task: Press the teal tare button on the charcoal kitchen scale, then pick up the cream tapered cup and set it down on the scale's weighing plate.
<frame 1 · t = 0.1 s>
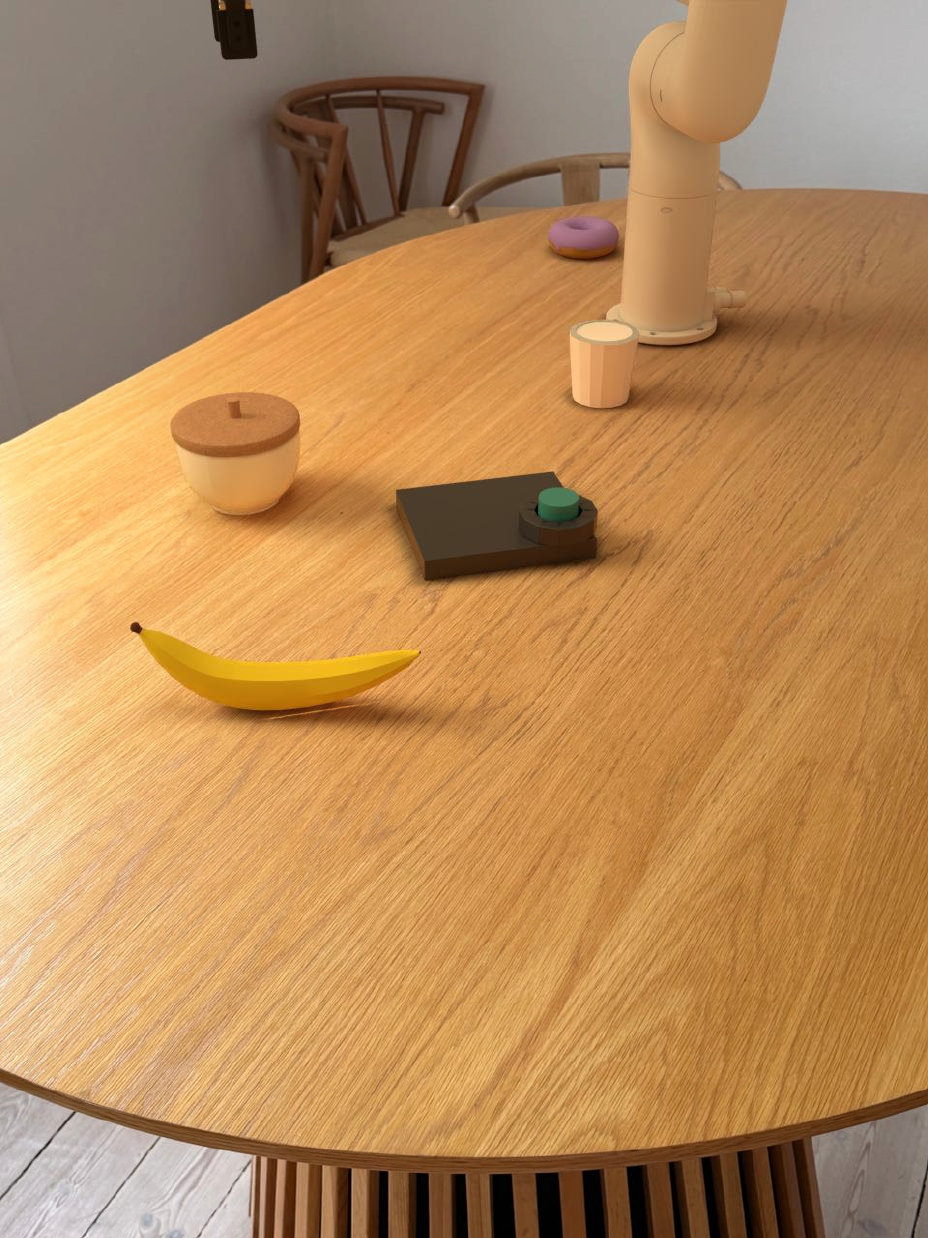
hand: (235, 49, 114), 31 cm above the table, tool pointing down, fingers open, 9 cm apart
donut: (582, 251, 163), on the table
tare button: (558, 505, 97), point 4 cm above the table, slide at 0.1 cm
cream tapered cup: (600, 398, 124), on the table
scale: (492, 533, 101), on the table
cream bowl with lid: (245, 500, 106), on the table
banana: (283, 708, 82), on the table
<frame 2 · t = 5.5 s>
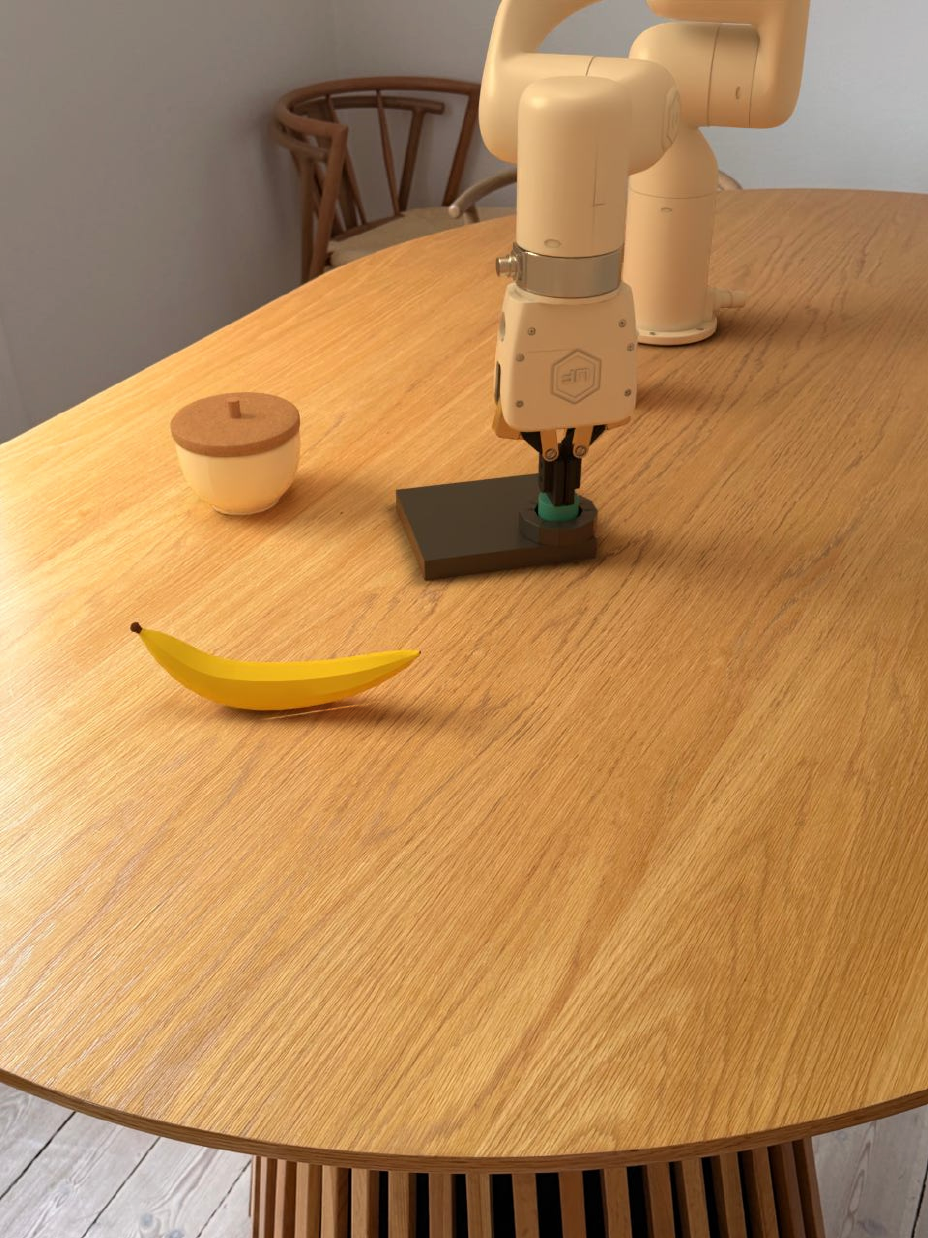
hand: (558, 497, 96), 5 cm above the table, tool pointing down, fingers closed
tare button: (558, 505, 97), point 4 cm above the table, slide at 0.1 cm, touching gripper
everything else where it was.
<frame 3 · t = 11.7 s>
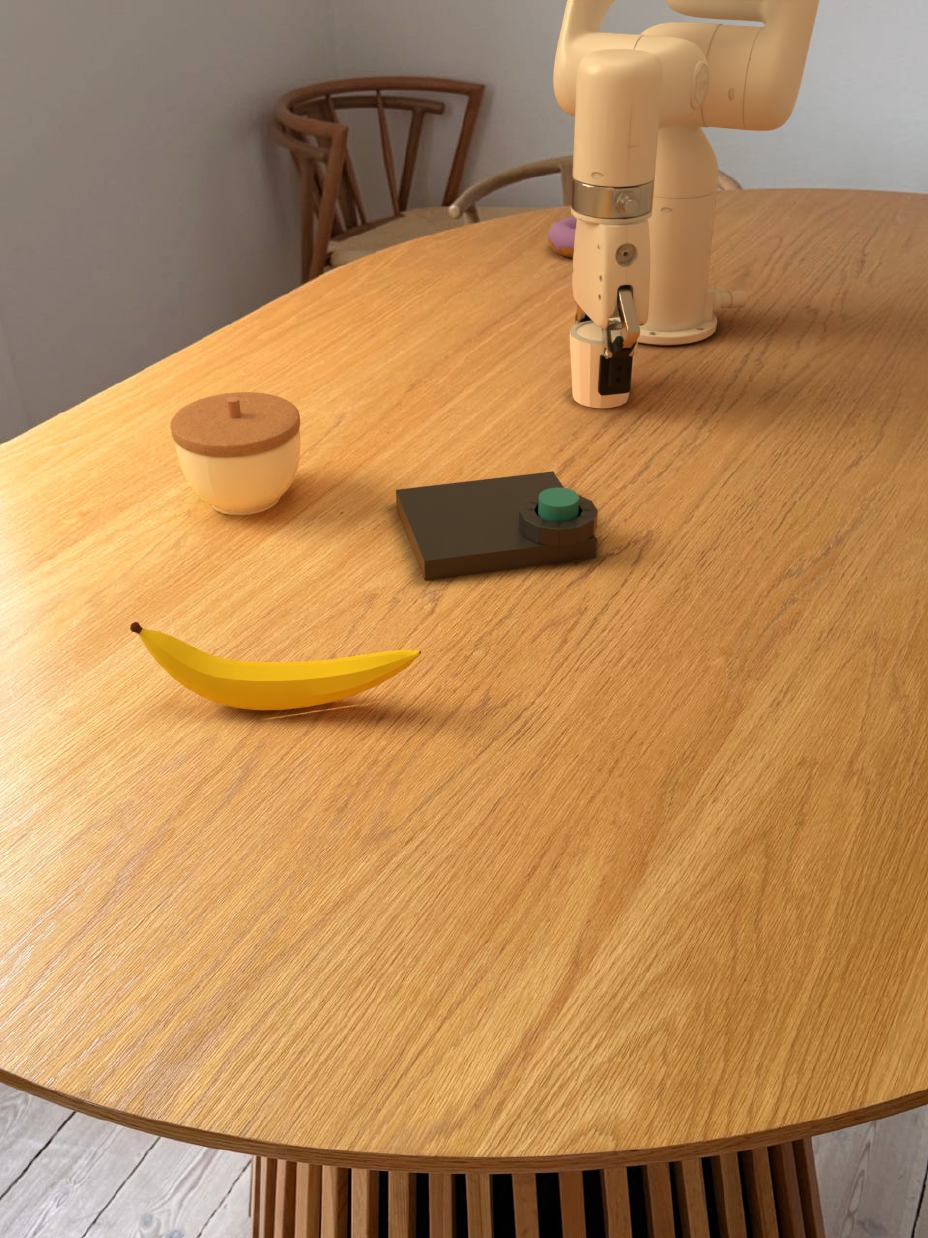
hand: (601, 376, 122), 2 cm above the table, tool pointing down, fingers closed on cream tapered cup, 6 cm apart
tare button: (558, 505, 97), point 4 cm above the table, slide at 0.1 cm
cream tapered cup: (600, 398, 124), on the table, touching gripper
everything else where it was.
when the fingers open (4 cm above the table, at t = 19.6 s): cream tapered cup stays where it is, resting on scale.
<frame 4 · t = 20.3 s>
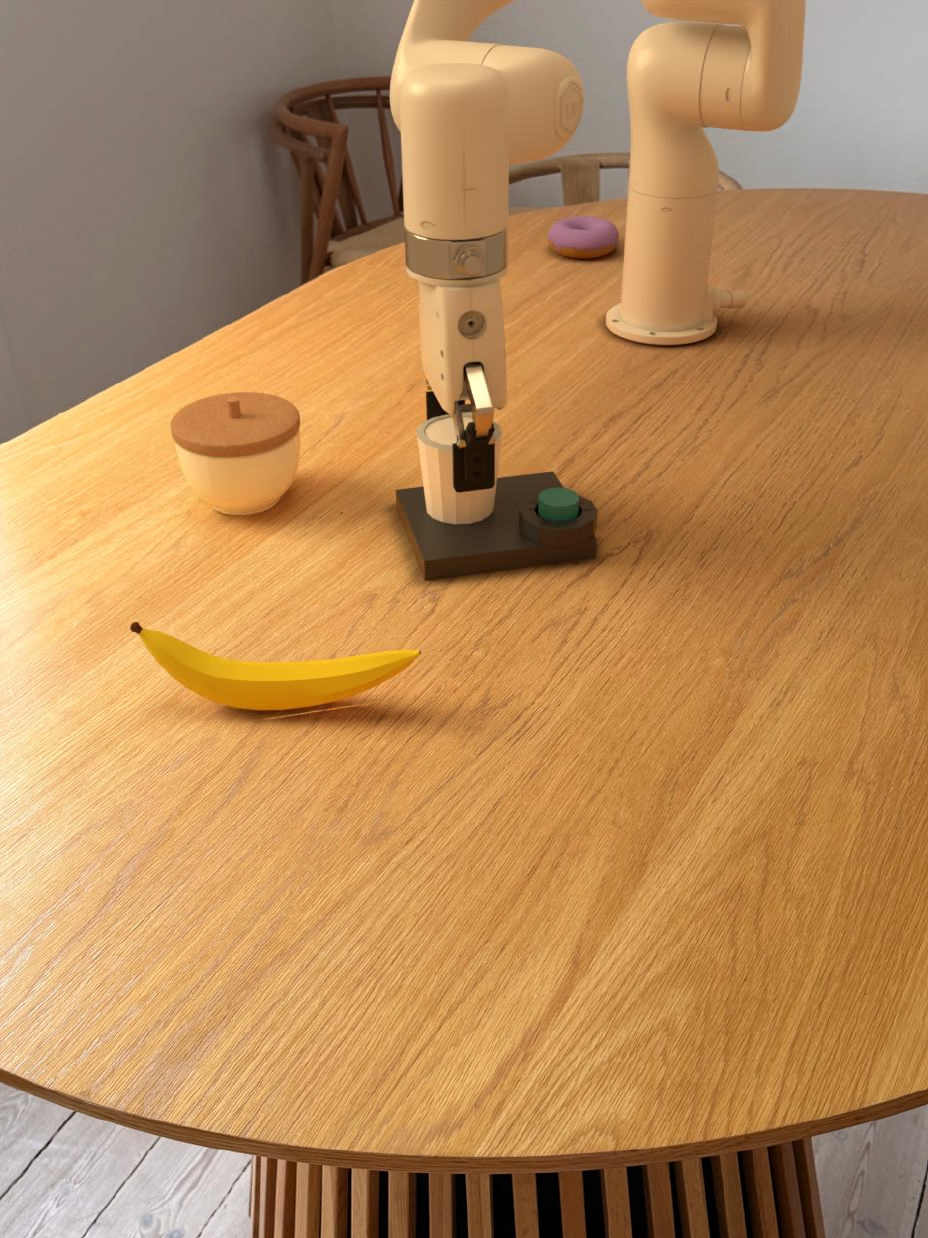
hand: (459, 460, 98), 6 cm above the table, tool pointing down, fingers open, 9 cm apart
cream tapered cup: (459, 509, 101), point 2 cm above the table, touching scale
everything else where it was.
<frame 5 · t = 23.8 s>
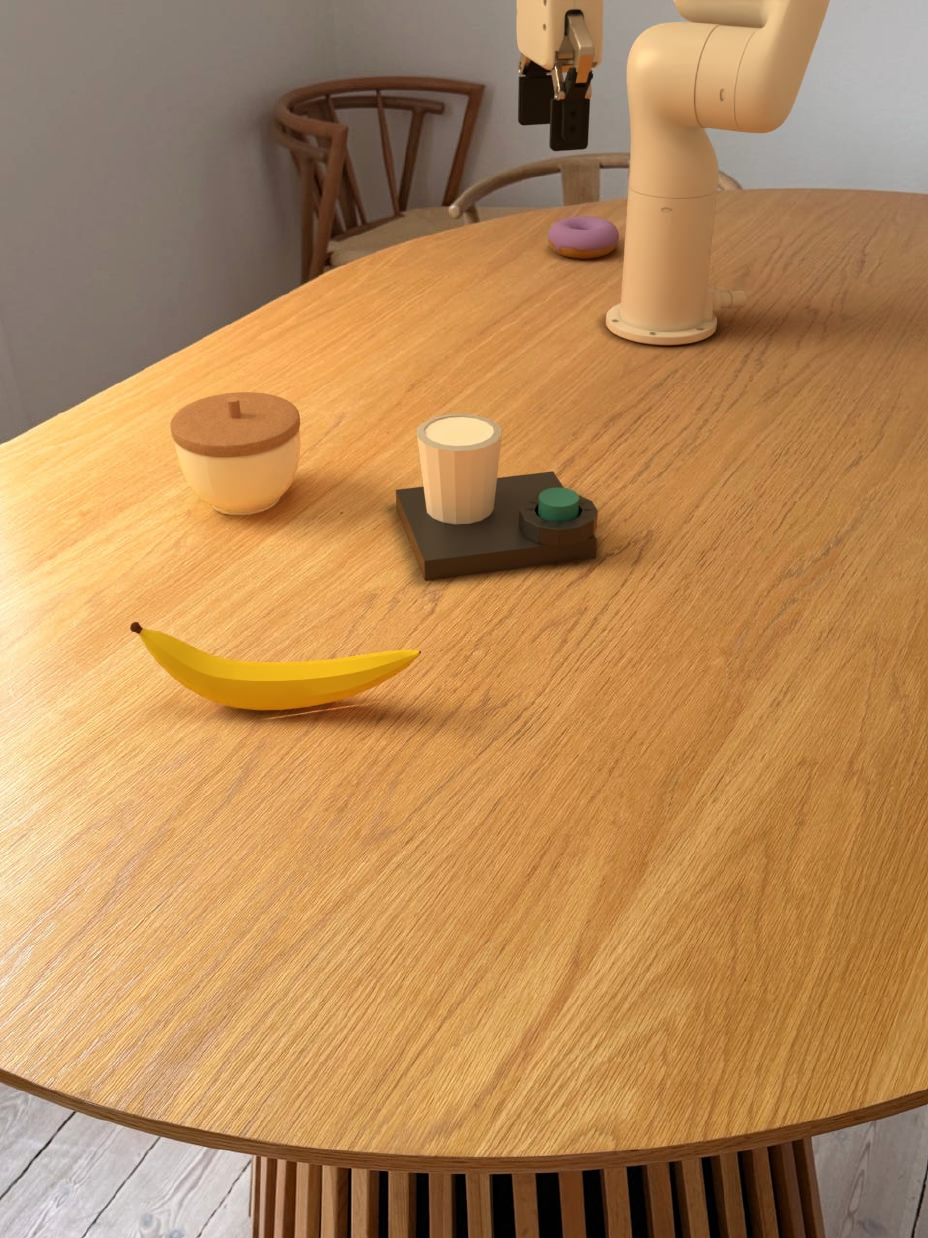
hand: (551, 136, 105), 26 cm above the table, tool pointing down, fingers open, 9 cm apart
nothing on the table moved.
at the end: tare button pushed in 0.9 cm at the most during the clip, back to where it started at the end; cream tapered cup inside the target area on the scale (1.8 cm from its centre), point 1.7 cm above the scale's base; cream tapered cup touching scale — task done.
